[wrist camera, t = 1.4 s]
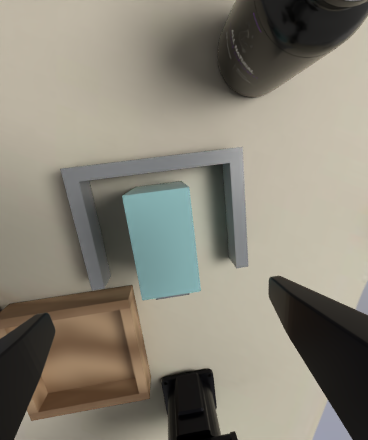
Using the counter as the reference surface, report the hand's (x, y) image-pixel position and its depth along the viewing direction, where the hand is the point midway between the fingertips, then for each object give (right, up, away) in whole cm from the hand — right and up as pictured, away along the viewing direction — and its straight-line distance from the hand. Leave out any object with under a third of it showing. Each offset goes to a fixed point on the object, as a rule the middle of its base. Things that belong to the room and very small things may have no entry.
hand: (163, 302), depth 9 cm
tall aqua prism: (-1, +3, +13) cm, 14 cm away
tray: (-11, -11, +16) cm, 22 cm away
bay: (-1, +3, +13) cm, 14 cm away
